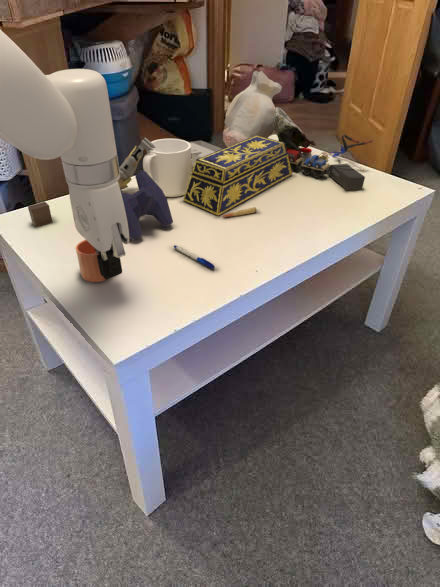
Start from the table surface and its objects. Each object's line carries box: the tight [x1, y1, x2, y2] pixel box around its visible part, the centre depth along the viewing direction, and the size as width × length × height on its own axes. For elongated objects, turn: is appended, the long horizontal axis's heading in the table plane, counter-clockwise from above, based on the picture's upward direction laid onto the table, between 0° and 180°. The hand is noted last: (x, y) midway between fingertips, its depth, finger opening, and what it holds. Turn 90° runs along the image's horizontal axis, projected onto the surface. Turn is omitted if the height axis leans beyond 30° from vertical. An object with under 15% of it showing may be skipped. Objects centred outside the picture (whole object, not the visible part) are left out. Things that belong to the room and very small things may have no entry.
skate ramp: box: [188, 140, 222, 168], centre depth 116 cm, size 15×13×5 cm
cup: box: [75, 239, 107, 283], centre depth 76 cm, size 6×6×6 cm
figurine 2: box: [318, 134, 374, 171], centre depth 118 cm, size 10×9×20 cm
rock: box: [272, 106, 317, 155], centre depth 117 cm, size 16×7×15 cm
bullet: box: [221, 206, 257, 218], centre depth 95 cm, size 8×1×1 cm
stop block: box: [27, 201, 54, 228], centre depth 90 cm, size 2×4×4 cm, turn 129°
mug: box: [142, 138, 193, 198], centre depth 102 cm, size 13×10×10 cm
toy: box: [118, 137, 156, 190], centre depth 99 cm, size 8×5×15 cm
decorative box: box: [182, 135, 293, 216], centre depth 104 cm, size 11×30×9 cm, turn 141°
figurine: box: [120, 170, 174, 241], centre depth 88 cm, size 11×12×11 cm
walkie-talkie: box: [327, 163, 366, 191], centre depth 114 cm, size 5×3×20 cm
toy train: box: [287, 149, 331, 179], centre depth 116 cm, size 4×22×5 cm, turn 52°
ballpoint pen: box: [173, 245, 216, 270], centre depth 81 cm, size 10×1×1 cm, turn 48°
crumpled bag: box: [222, 70, 283, 147], centre depth 122 cm, size 16×19×15 cm
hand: (111, 274), depth 73 cm, fingers closed
